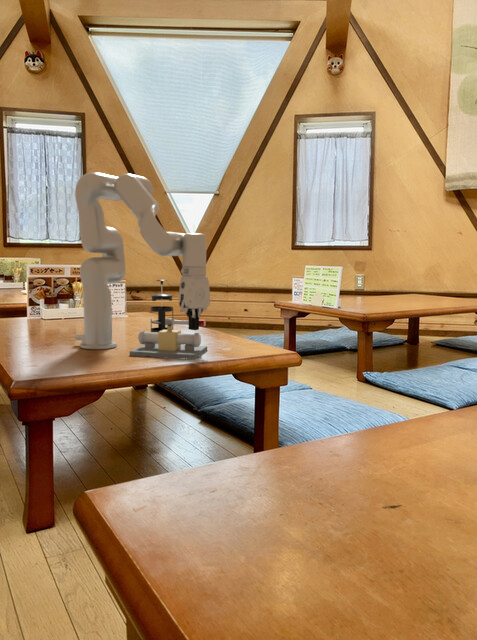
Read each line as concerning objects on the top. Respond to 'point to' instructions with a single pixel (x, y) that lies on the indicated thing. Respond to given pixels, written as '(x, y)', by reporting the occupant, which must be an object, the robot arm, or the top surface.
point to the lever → (183, 322)
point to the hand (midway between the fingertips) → (193, 329)
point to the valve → (169, 344)
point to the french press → (161, 310)
